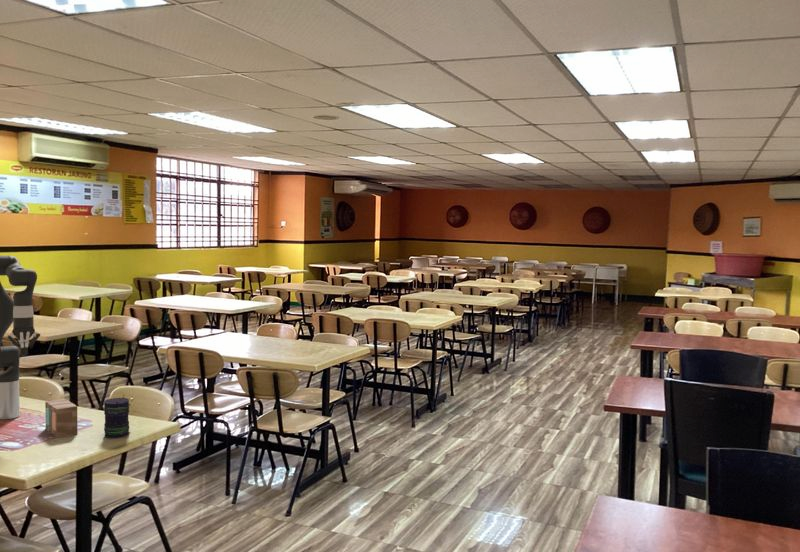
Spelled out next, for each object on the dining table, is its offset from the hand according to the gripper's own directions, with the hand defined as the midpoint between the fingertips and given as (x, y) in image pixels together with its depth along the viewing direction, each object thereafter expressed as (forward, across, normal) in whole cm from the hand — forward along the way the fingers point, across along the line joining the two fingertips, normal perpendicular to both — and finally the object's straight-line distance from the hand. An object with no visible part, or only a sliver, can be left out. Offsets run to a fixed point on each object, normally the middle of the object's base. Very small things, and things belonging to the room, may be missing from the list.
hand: (23, 356), depth 276 cm
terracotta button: (+31, -11, +14) cm, 35 cm away
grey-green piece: (+31, -11, +4) cm, 33 cm away
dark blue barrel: (+33, -28, +30) cm, 53 cm away
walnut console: (+33, -12, +9) cm, 36 cm away
